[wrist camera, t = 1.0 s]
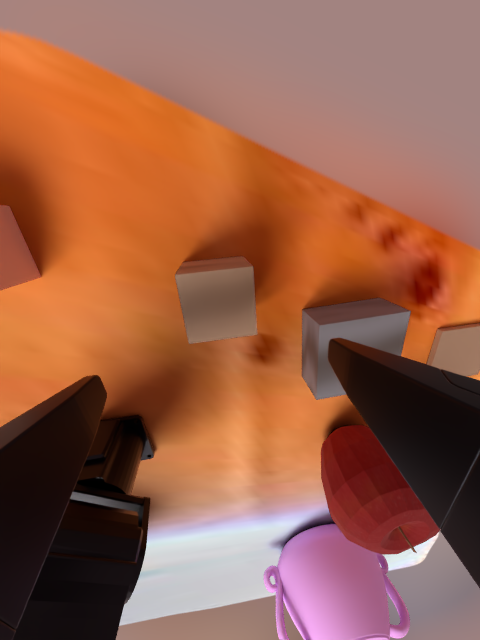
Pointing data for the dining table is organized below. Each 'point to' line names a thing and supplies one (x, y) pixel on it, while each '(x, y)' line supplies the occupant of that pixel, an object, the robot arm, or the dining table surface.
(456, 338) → the tile
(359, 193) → the dining table surface
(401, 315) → the grey flat block
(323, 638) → the pink pot
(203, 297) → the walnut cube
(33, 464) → the robot arm
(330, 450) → the apple
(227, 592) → the dining table surface
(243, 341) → the dining table surface
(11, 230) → the pale pink cube
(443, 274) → the dining table surface
